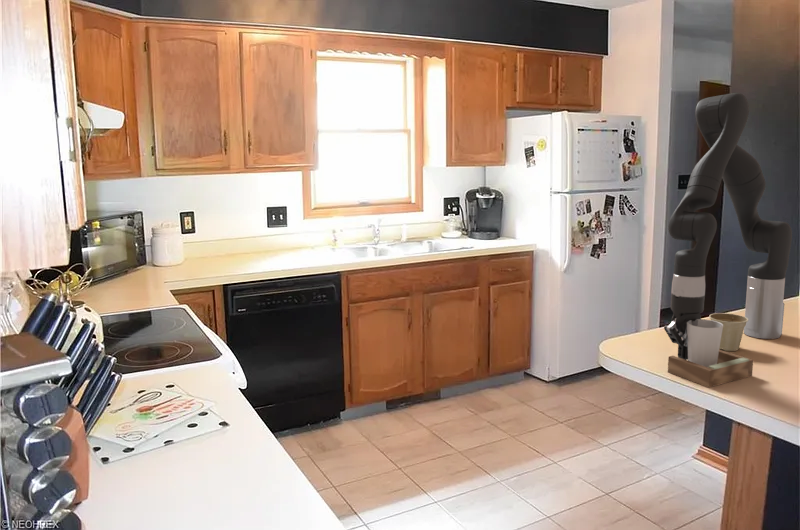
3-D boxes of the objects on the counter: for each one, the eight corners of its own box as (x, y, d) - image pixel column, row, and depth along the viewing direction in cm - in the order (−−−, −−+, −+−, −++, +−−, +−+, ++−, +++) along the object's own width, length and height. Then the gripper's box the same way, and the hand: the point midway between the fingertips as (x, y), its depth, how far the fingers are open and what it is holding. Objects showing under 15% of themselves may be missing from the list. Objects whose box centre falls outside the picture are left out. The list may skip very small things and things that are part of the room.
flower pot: (754, 350, 165) (756, 319, 163) (728, 355, 162) (730, 323, 160) (724, 341, 174) (726, 311, 172) (699, 345, 170) (701, 315, 169)
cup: (684, 363, 156) (687, 317, 154) (719, 367, 153) (723, 321, 151) (683, 373, 150) (686, 326, 147) (719, 378, 146) (723, 329, 144)
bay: (709, 361, 157) (711, 345, 156) (752, 375, 147) (753, 358, 146) (667, 372, 151) (668, 354, 150) (708, 387, 141) (709, 369, 140)
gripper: (693, 286, 158) (689, 350, 161) (656, 292, 152) (652, 358, 156) (719, 292, 151) (714, 359, 154) (681, 298, 146) (677, 367, 149)
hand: (683, 359), depth 155 cm, fingers closed
